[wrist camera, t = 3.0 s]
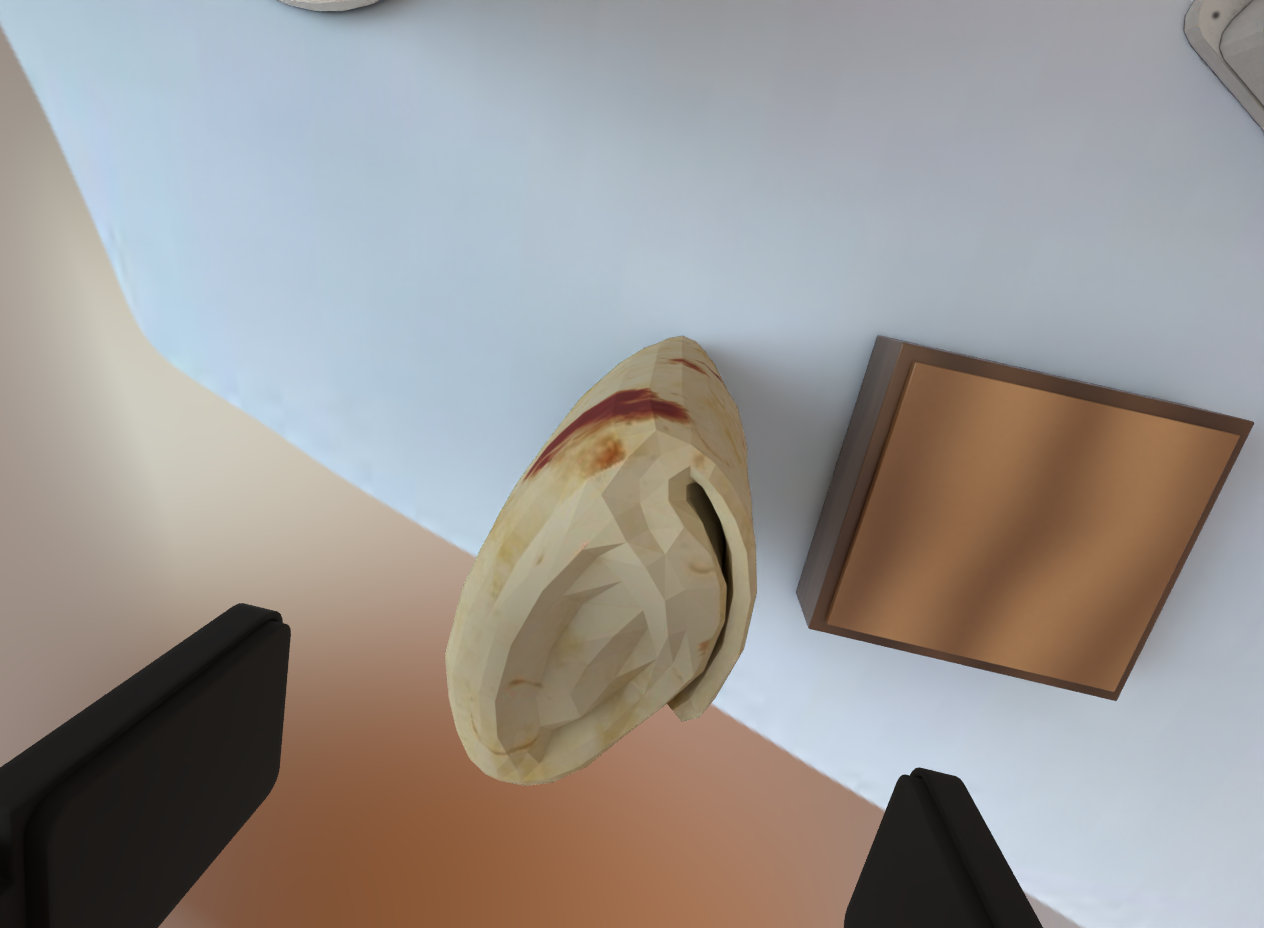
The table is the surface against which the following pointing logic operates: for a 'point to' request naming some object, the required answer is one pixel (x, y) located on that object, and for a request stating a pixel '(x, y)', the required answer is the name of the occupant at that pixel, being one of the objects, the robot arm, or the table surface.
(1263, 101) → the emergency button
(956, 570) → the stand
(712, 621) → the food model
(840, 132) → the table surface
